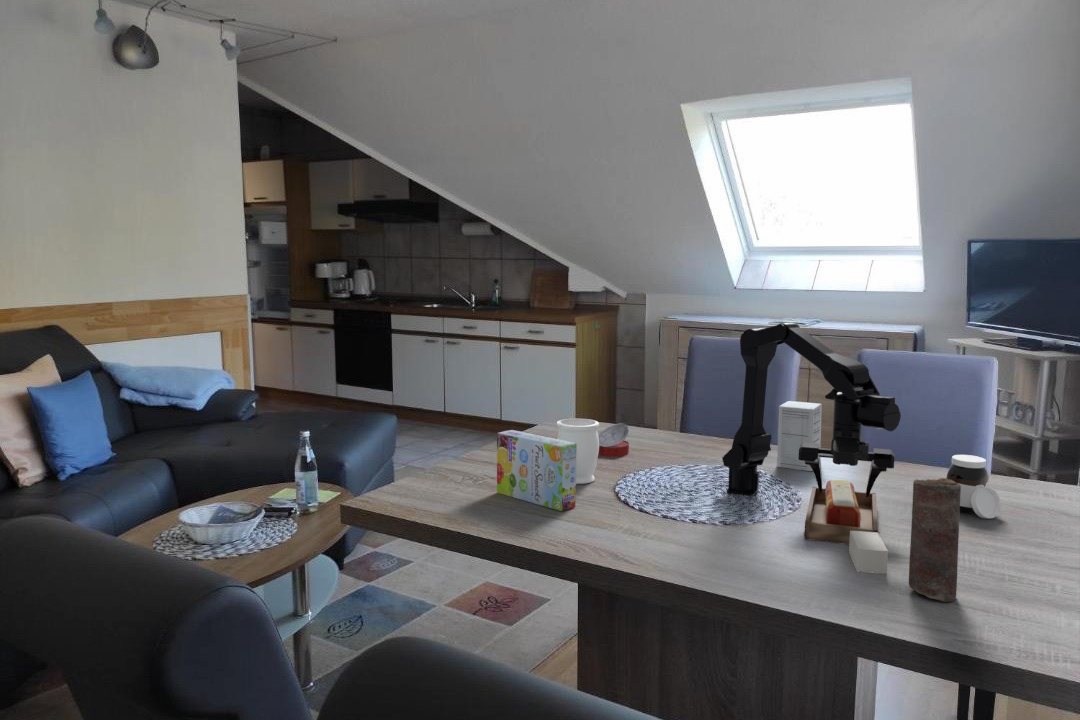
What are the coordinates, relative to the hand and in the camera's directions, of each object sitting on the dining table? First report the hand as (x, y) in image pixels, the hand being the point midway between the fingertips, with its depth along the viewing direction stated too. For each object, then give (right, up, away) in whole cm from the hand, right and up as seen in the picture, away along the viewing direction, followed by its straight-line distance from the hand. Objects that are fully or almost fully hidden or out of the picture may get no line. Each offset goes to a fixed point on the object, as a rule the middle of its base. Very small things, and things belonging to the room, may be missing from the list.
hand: (843, 494), depth 173 cm
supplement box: (+5, 0, +47) cm, 47 cm away
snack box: (-66, -4, +17) cm, 68 cm away
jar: (-55, -2, +33) cm, 64 cm away
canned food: (-44, +2, +61) cm, 75 cm away
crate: (0, -6, +1) cm, 6 cm away
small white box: (-3, -10, -21) cm, 23 cm away
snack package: (0, -6, +1) cm, 6 cm away
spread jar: (+32, -5, +9) cm, 34 cm away
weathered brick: (+2, -11, -35) cm, 37 cm away
